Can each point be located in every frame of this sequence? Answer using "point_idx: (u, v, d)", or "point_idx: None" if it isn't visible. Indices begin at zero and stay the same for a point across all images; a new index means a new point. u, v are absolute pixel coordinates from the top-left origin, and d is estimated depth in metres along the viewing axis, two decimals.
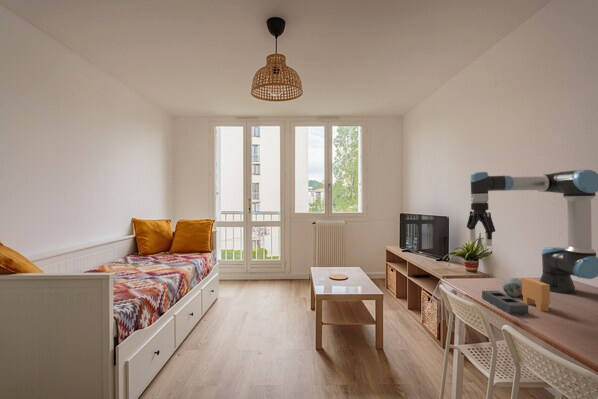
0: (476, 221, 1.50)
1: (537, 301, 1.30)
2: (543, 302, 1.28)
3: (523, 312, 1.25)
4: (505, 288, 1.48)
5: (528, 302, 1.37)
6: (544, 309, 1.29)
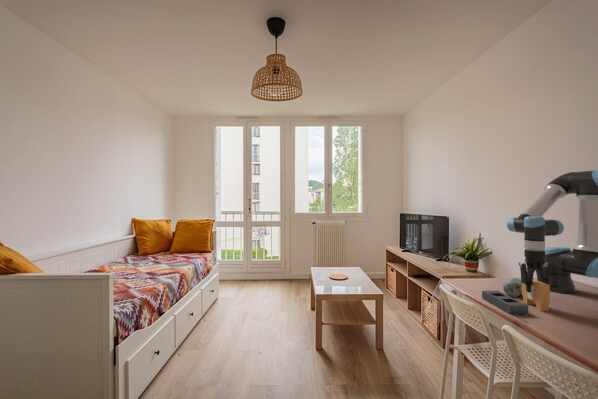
0: (538, 272, 1.33)
1: (537, 301, 1.30)
2: (543, 302, 1.28)
3: (523, 312, 1.25)
4: (505, 288, 1.48)
5: (528, 302, 1.37)
6: (544, 309, 1.29)
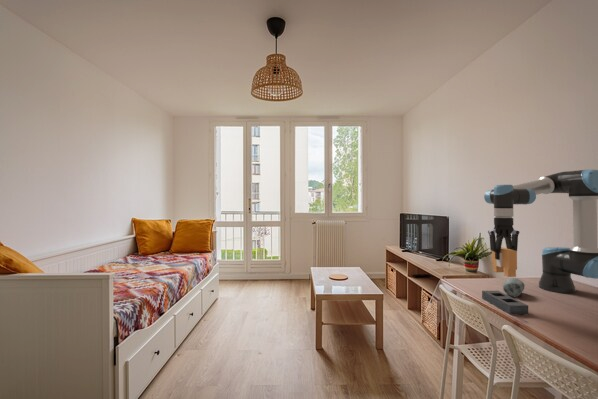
0: (507, 239, 1.35)
1: (505, 267, 1.32)
2: (510, 268, 1.29)
3: (523, 312, 1.25)
4: (505, 288, 1.48)
5: (497, 270, 1.38)
6: (511, 275, 1.30)
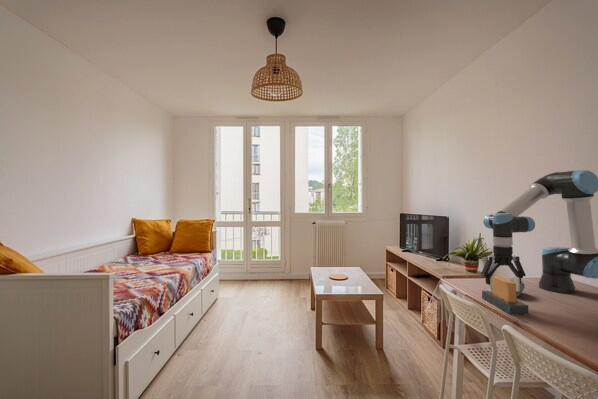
0: (510, 267, 1.35)
1: (504, 299, 1.32)
2: (510, 300, 1.29)
3: (523, 312, 1.25)
4: None
5: None
6: None
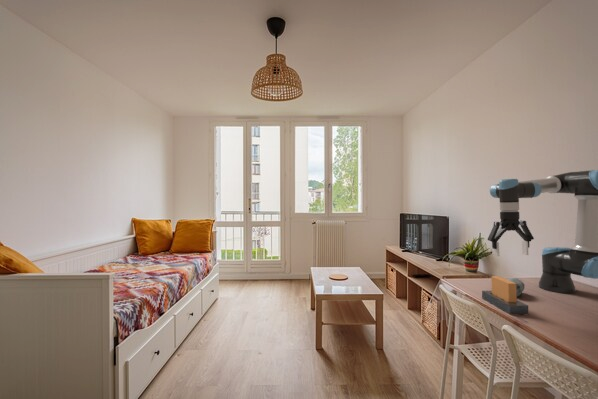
0: (518, 231, 1.36)
1: (504, 299, 1.32)
2: (510, 300, 1.29)
3: (523, 312, 1.25)
4: None
5: None
6: None
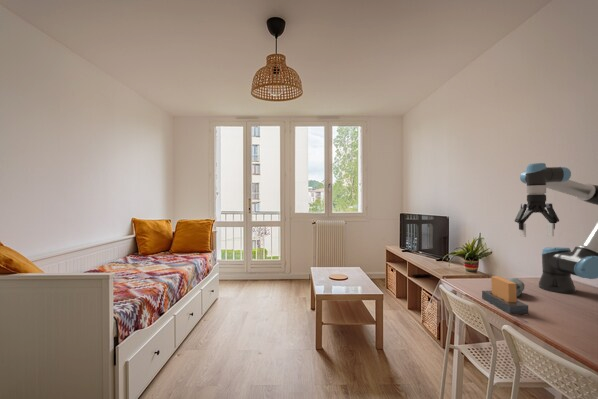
0: (544, 214, 1.43)
1: (504, 299, 1.32)
2: (510, 300, 1.29)
3: (523, 312, 1.25)
4: None
5: None
6: None
